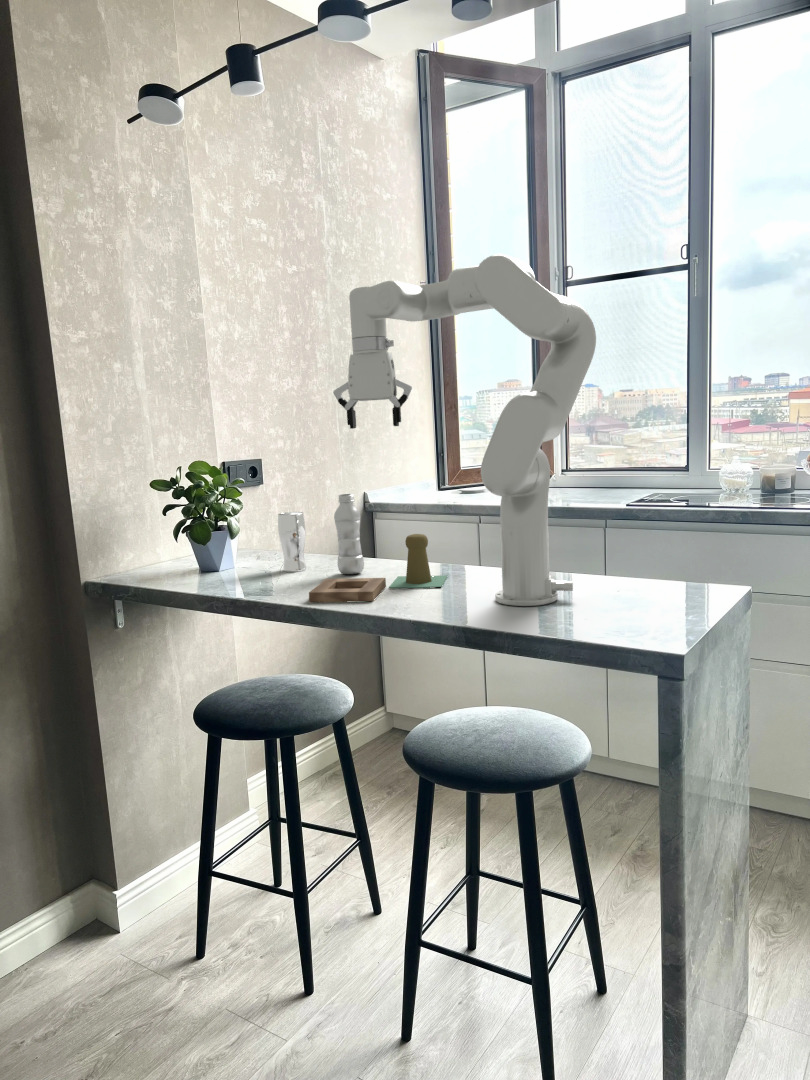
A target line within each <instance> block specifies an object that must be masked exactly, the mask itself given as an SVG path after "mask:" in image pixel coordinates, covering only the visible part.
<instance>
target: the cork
mask: <svg viewBox="0 0 810 1080" xmlns="http://www.w3.org/2000/svg"><path fill="white" fill-rule="evenodd" d="M404 542H405V547H406V548H407V561H406V572H405V573H406V574H405V576H406V583H409V584H424V583H429V582H431V581H432V580H431V576H432V575H431V569H430V565H429V559H428V554H427V547H428V546H429V545H428V544H429V540H428V537H427V535H426V534H424V533H423V534H422V533H413V534H408V535H407V536H406V538H405V541H404Z"/></svg>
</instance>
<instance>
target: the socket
mask: <svg viewBox="0 0 810 1080" xmlns="http://www.w3.org/2000/svg"><path fill="white" fill-rule="evenodd" d="M386 580H387V579H386V577H360V578H359V577H358V578H357V577H354V578H353V577H352V578H325V579H323V580H322V582H320V583H319V584H318V585H317V586H315V587H314V588H313V589H311V590H310V591H309V592H308V599H309V600H308V601H309V603H310V602H317V603H348V602H347V601H374V602H375V600H376V599H377V598H378V597H379V596H380V595H381V594H382V592H383V591H384V590H385V589H386V588H387V584H386V583H387V581H386ZM385 587H386V588H385ZM384 588H385V589H384ZM383 589H384V590H383ZM382 590H383V591H382ZM381 591H382V592H381ZM380 593H381V594H380ZM379 594H380V595H379ZM378 595H379V596H378ZM377 596H378V597H377ZM376 597H377V598H376ZM375 598H376V599H375ZM374 599H375V600H374Z"/></svg>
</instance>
